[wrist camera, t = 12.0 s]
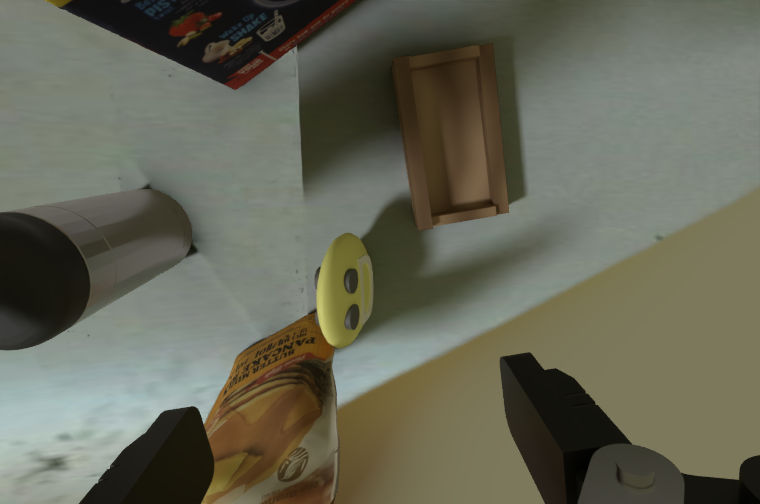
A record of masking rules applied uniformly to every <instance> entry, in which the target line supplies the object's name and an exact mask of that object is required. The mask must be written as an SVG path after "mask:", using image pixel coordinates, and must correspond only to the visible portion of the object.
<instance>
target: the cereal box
mask: <svg viewBox="0 0 760 504" xmlns="http://www.w3.org/2000/svg"><path fill="white" fill-rule="evenodd" d="M45 1H47V2H50V3H51V4H53V5H55V6H57V7H58V8H60V9H65V10H67V11H68V12H70V13H72V14H74V15H76V16H78V17H81V18H83V19H85V20H87V21H89V22H91V23H94V24H96V25H98V26H100V27H102V28H104V29H106V30H109V31H111V32H113V33H115V34H118V35H119V36H121V37H123V38H126V39H128V40H130V41H132V42H134V43H137V44H139V45H140V46H142V47H145V48H146V49H149V50H151V51H153V52H155V53H157V54H160V55H162V56H165V57H167V58H168V59H171V60H173V61H175V62H177V63H179V64H181V65H183V66H185V67H188V68H190V69H192V70H194V71H196V72H199V73H201V74H203V75H205V76H207V77H209V78H211V79H213V80H215V81H217V82H220V83H221V84H224V85H226V86H228V87H230V88H232V89H234V90H236V89H238V88H239V87H241V86H243V85H244V84H246V83H247V82H248V81H250V80H251V79H252V78H254V77H255V76H256V75H258V74H259V73H261V72H262V71H263V70H264V69H266V68H267V67H269V66H270V65H271V64H272V63H274V62H275V61H276V60H278V59H279V58H280V57H282V56H283V55H284V54H286V53H287V52H288V51H289V50H291V49H292V48H293V47H295V46H296V45H297V44H299V43H300V42H301V41H303V40H304V39H305V38H307V37H308V36H309V35H311V34H312V33H313V32H315V31H316V30H317V29H319V28H320V27H321V26H323V25H324V24H325V23H326V22H328V21H329V20H331V19H332V18H334V17H335V16H336V15H337V14H339V13H340V12H341V11H343V10H344V9H345V8H347V7H348V6H349V5H351V4H352V3H353V2H354V1H356V0H45Z"/></svg>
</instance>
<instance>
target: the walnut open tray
mask: <svg viewBox="0 0 760 504" xmlns="http://www.w3.org/2000/svg"><path fill="white" fill-rule="evenodd" d="M391 69H392V76H393V83H394V89H395V96H396V102H397V109H398V116H399V122H400V129H401V135H402V142H403V149H404V155H405V162H406V168H407V175H408V182H409V188H410V195H411V201H412V208H413V215H414V221H415V225H416V226H417V228H418V230H419V231H420V230H426V229H432V228H433V226H438V225H444V224H450V223H456V222H462V221H468V220H474V219H480V218H486V217H491V216H497V215H498V214H504V213H509V206H508V196H507V186H506V175H505V165H504V154H503V144H502V134H501V123H500V113H499V102H498V92H497V81H496V71H495V61H494V50H493V43H491V44H485V45H474V46H468V47H463V48H457V49H452V50H446V51H440V52H435V53H429V54H424V55H418V56H413V57H409V55H407V56H401V57H395V58H393V61H392V65H391Z"/></svg>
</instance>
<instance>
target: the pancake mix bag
mask: <svg viewBox="0 0 760 504" xmlns="http://www.w3.org/2000/svg"><path fill="white" fill-rule="evenodd" d="M334 349H335V347H334V346H332V345H331V344H329V343H328V342H327V340H326V338H325V337H324V335H323V333H322V330H321V327H320V326H318V325H317V324H316V320H315V313H313V314H310V315H306V316H304V317H302V318H301V319H299V320H297V321H296V322H294V323H292V324H290V325H289V326H287V327H285V328H283V329H282V330H280V331H278V332H276V333H275V334H273V335H271V336H270V337H268V338H266V339H264V340H263V341H261V342H259V343H257V344H255V345H253V346H251V347H250V348H248V349H246V350H244V351H243V352H242V353H240V354H239V355H238V356H237V357H236V359H235V362H234V365H233V368H232V371H231V373H230V376H229V378H228V380H227V382H226V384H225V386H224V387H223V389H222V390H221V392H220V393H219V395H218V397H217V399H216V401H215V403H214V405H213V407H212V409H211V411H210V413H209V415H208V417H207V419H206V421H205V423H204V427H205V430H206V434H207V437H208V440H209V443H210V446H211V450H212V453H213V457H214V475H213V479H212V482H211V484H210V486H209V489H208V491H207V493H206V495H205V497H204V499H203V501H202V503H201V504H333V503H334V500H335V496H336V493H337V490H338V481H339V462H340V461H339V459H340V439H339V435H338V431H337V392H336V385H335V380H334V376H333V370H332V361H333V356H334Z"/></svg>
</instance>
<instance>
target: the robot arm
mask: <svg viewBox="0 0 760 504" xmlns="http://www.w3.org/2000/svg"><path fill="white" fill-rule="evenodd" d="M191 243H192V228H191V223H190V220H189V218H188V215H187V214H186V212H185V211H184V209H183V208H182V207H181V206H180V204H179V203H178V202H177V201H176V200H174V199H173V198H171V197H170V196H169V195H167V194H164V193H162V192H160V191H156V190H152V189H137V190H131V191H125V192H118V193H112V194H106V195H100V196H94V197H88V198H82V199H76V200H70V201H65V202H59V203H53V204H47V205H41V206H35V207H30V208H25V209H19V210H13V211H7V212H1V213H0V350H19V349H24V348H29V347H33V346H36V345H39V344H41V343H43V342H45V341H47V340H49V339H51V338H53V337H55V336H57V335H58V334H60V333H62V332H63V331H65V330H67V329H68V328H70V327H72V326H73V325H75V324H77V323H78V322H80V321H82V320H84V319H85V318H87V317H89V316H90V315H92V314H94V313H95V312H97V311H98V310H100V309H102V308H104V307H105V306H107V305H109V304H110V303H112V302H114V301H116V300H117V299H119V298H121V297H122V296H124V295H126V294H128V293H129V292H131V291H133V290H134V289H136V288H138V287H139V286H141V285H143V284H145V283H146V282H148V281H150V280H151V279H153V278H155V277H157V276H158V275H160V274H162V273H164V272H165V271H167V270H169V269H170V268H172V267H174V266H175V265H177V264H178V263H180V262H181V261H182V260H183V259H184V257H185V256H186V255H187V253H188V251H189V249H190V246H191ZM500 371H501V379H502V389H503V398H504V405H505V413H506V418H507V422H508V426H509V429H510V432H511V435H512V437H513V439H514V441H515V443H516V445H517V447H518V449H519V451H520V453H521V455H522V457H523V459H524V461H525V463H526V465H527V467H528V470H529V472H530V474H531V476H532V478H533V480H534V482H535V484H536V486H537V488H538V490H539V492H540V494H541V496H542V498H543V500H544V502H545V504H760V455H759V456H754V457H751V458H748V459H747V460H745V461H744V462H743V463H742V464H741V467H740V472H739V480H734V479H723V478H713V477H702V476H694V475H687V474H683V473H681V472H680V471H679V469H678V468H677V467H676V466H675V465H674V464H673V463H672V462H671V461H670V460H668V459H667V458H666V457H664V456H663V455H661V454H659V453H657V452H655V451H653V450H650V449H648V448H645V447H641V446H637V445H632V443H631V442H630V441H629V440H628V439H627V438H626V437H625V435H624V434H623V433H622V432H621V431H620V430H619V429H618V427H617V426H616V425H615V424H614V423H613V422H612V421H611V420H610V418H608V416H607V415H606V414H605V413H604V412H603V410H602V409H601V408H600V407H599V406H598V405H596V404H595V401H594V400H593V399H592V398H591V397H590V396H589V395H588V394H586V392H585V390H584V389H583V388H582V387H581V386H580V384H579V383H578V382H577V381H576V380H575V379H574V378H573V377H571V376H569V375H567V374H565V373H563V372H562V371H560V370H558V369H556V368H555V369H549V370H544V369H543V368H542V367H541V366H540V364H539V363H538V362H537V360H536V359H535V358H534V356H533V355H532V354H531V353H529V352H528V353H522V354H516V355H510V356H503V357H501V358H500ZM213 475H214V457H213V453H212V450H211V446H210V443H209V440H208V437H207V434H206V430H205V427H204V424H203V421H202V418H201V414H200V412H199V410H198V409H197V408H196V407H194V406H191V407H185V408H179V409H173V410H167V411H164V412H162V413H161V414H160V415H159V417H158V418H157V419H156V420H155V422H154V423H153V424H152V425H151V427H150V428H149V429H148V430H147V432H146V433H145V434H143V435H142V436H140V437H139V438H138V439H136V440H135V441H134V442H133V443H131V444H130V445H129V446H128V447H126V448H125V449H124V450H123V451H122V452H121V453H120V455H119V456H118V457H117V458H116V459H115V461H114V462H113V463H112V464H111V465H110V469H107V470H106V471H105V473H104V474H103V475H102V476H101V478H100V479H99V480H98V481H99V482H98V483H97V484H95V485H94V486H93V487H92V488H91V490H90V491H89V492H88V493H87V494H86V496H85V497H84V498H83V499H82V500H81V502H80V503H79V504H201V503H202V501H203V499H204V497H205V495H206V493H207V491H208V489H209V486H210V484H211V482H212V479H213Z"/></svg>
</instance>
